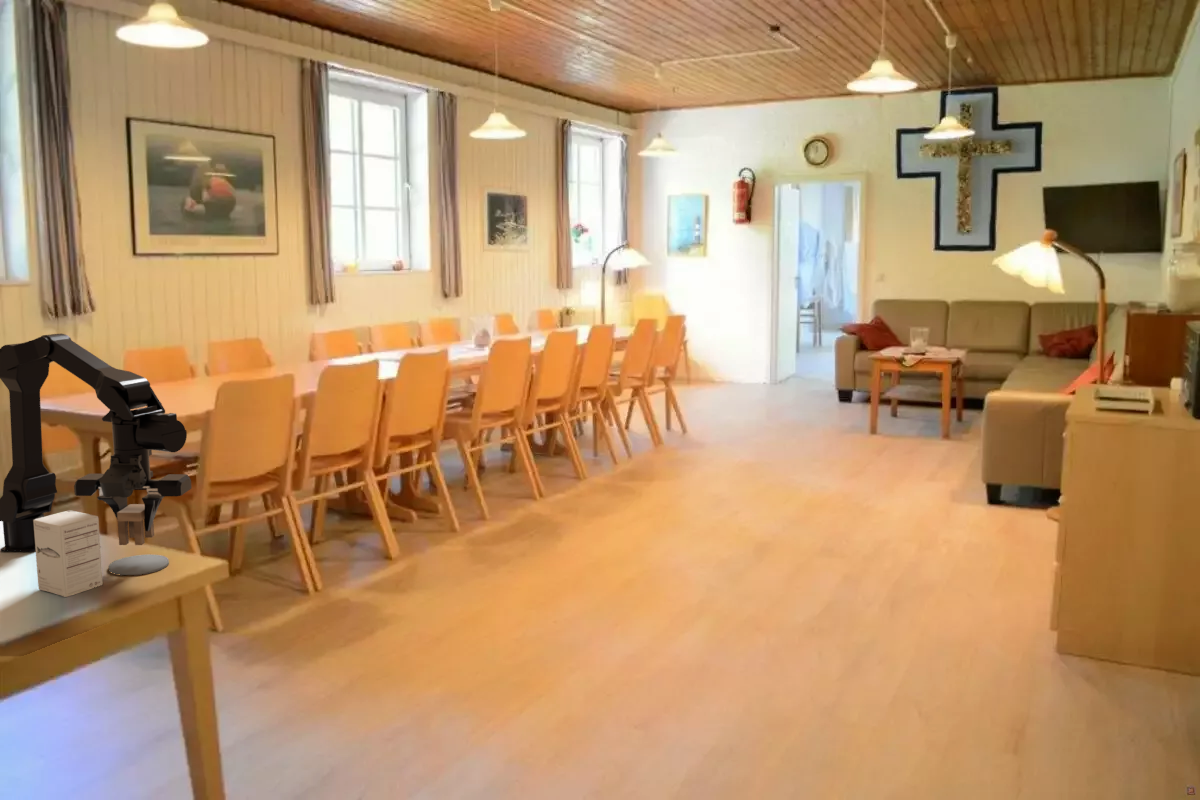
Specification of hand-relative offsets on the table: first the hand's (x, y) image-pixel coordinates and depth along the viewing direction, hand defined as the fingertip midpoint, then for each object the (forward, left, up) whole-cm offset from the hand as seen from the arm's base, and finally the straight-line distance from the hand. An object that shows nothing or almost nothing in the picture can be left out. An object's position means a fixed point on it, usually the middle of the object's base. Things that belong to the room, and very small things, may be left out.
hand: (136, 530), depth 182 cm
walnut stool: (0, 0, -2) cm, 2 cm away
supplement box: (-7, -11, -7) cm, 15 cm away
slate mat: (0, 0, -7) cm, 7 cm away
